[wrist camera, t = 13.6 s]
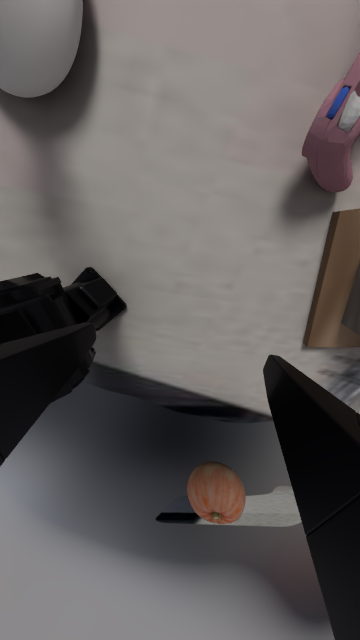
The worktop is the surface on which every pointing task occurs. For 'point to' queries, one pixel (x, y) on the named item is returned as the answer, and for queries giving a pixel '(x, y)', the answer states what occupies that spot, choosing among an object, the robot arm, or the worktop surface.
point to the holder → (338, 286)
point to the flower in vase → (37, 44)
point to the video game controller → (335, 133)
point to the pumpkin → (216, 493)
